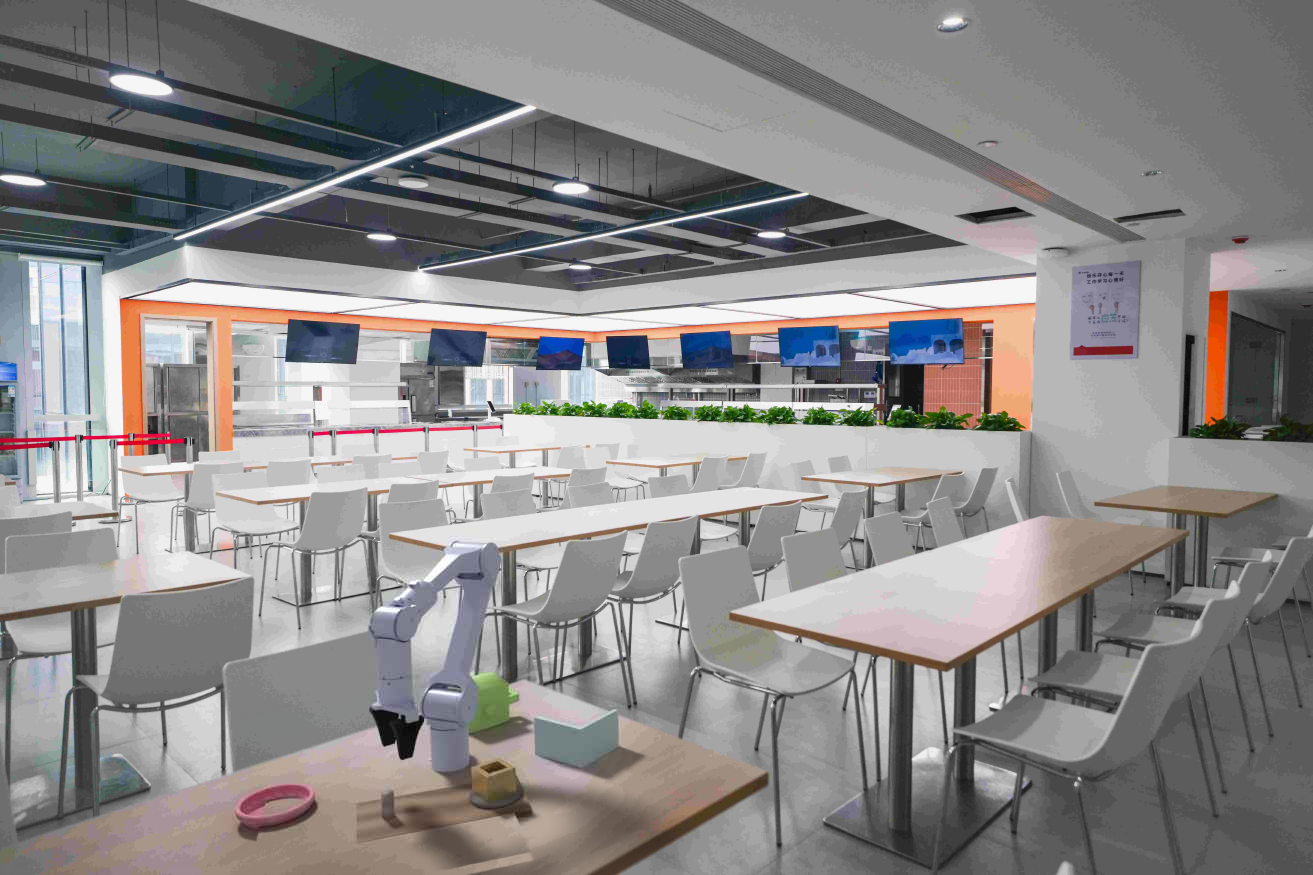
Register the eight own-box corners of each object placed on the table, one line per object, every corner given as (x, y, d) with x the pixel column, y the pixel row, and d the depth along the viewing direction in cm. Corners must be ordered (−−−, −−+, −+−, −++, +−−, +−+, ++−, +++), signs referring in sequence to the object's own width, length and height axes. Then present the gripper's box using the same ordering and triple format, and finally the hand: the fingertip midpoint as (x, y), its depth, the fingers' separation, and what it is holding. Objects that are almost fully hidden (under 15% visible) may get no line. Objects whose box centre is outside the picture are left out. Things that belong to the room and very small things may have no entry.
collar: (472, 792, 143) (471, 766, 142) (500, 782, 146) (499, 757, 146) (487, 803, 138) (486, 777, 138) (516, 792, 142) (515, 767, 142)
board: (356, 808, 141) (355, 779, 141) (516, 780, 151) (516, 752, 151) (356, 848, 128) (355, 816, 128) (532, 814, 138) (531, 784, 137)
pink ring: (235, 842, 131) (234, 823, 131) (235, 810, 142) (235, 792, 142) (318, 823, 137) (317, 805, 137) (312, 793, 148) (311, 776, 148)
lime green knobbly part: (450, 745, 169) (449, 701, 168) (430, 729, 176) (428, 687, 176) (525, 720, 180) (524, 679, 180) (503, 707, 188) (502, 667, 187)
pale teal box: (618, 745, 165) (618, 709, 165) (581, 768, 155) (580, 729, 155) (573, 733, 172) (572, 699, 172) (535, 754, 162) (534, 717, 162)
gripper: (357, 670, 145) (359, 745, 145) (389, 690, 134) (391, 771, 134) (395, 661, 149) (397, 734, 150) (429, 680, 138) (431, 758, 139)
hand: (397, 751), depth 142 cm, fingers open, 7 cm apart
